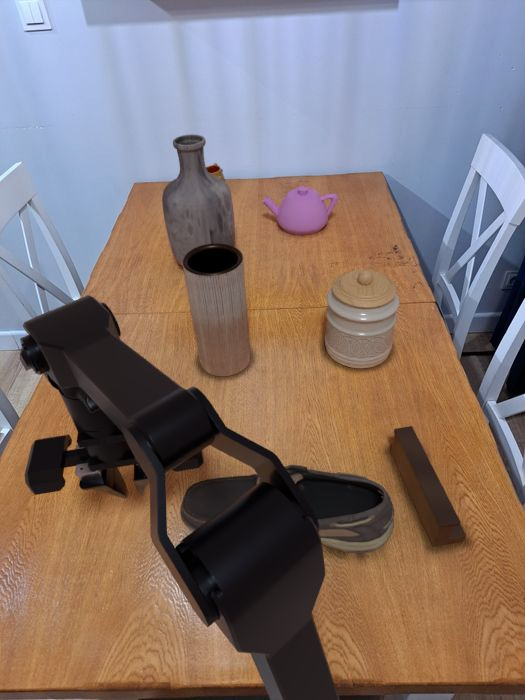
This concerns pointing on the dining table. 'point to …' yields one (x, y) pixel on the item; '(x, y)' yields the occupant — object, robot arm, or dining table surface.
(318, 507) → the boat shoe
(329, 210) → the teapot
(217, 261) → the planter
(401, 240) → the dining table surface
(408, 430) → the dark walnut bar
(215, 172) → the mug
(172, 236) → the vase
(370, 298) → the jar
